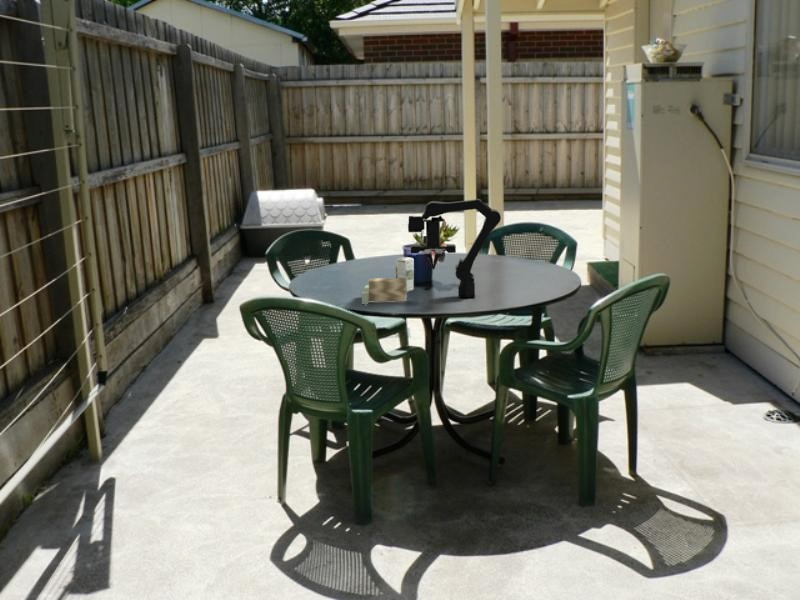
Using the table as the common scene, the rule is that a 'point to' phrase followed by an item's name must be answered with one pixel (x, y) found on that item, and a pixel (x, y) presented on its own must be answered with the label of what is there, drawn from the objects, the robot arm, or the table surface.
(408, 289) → the syrup box
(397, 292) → the beech block
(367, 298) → the sage batten
